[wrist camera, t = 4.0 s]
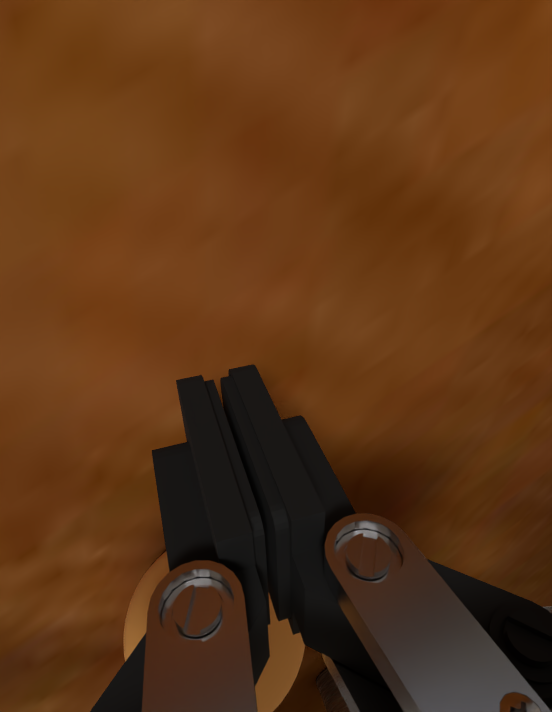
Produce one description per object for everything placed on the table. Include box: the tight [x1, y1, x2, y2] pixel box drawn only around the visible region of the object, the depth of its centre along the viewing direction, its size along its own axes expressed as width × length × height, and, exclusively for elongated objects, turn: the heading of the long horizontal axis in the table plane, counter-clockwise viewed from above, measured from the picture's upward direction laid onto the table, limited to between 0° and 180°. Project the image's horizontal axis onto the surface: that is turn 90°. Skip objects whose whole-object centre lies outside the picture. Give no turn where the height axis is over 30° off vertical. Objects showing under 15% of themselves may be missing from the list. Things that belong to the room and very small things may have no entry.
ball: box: [124, 552, 305, 712], centre depth 17 cm, size 6×6×6 cm
